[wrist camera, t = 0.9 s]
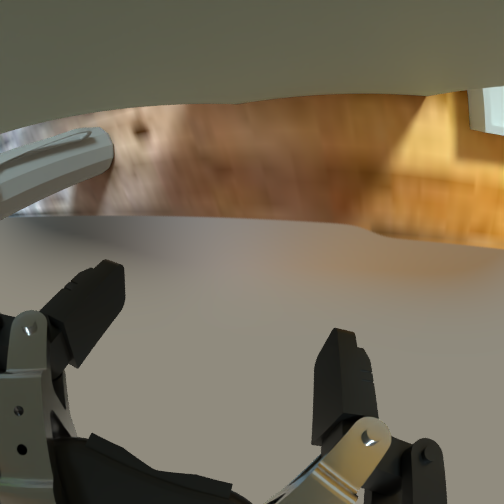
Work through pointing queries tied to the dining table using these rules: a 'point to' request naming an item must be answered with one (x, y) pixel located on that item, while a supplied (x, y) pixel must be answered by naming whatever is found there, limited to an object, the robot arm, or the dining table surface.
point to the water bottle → (51, 166)
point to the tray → (487, 109)
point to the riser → (237, 52)
